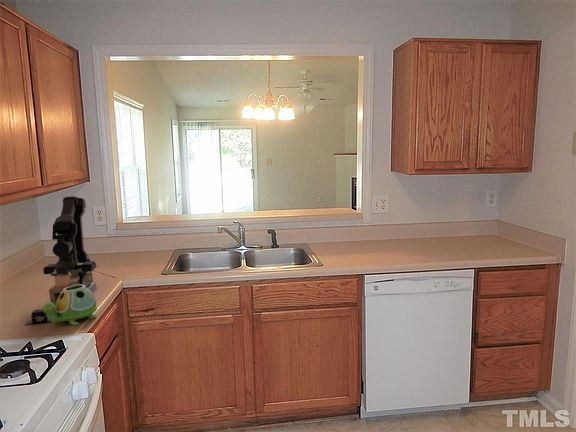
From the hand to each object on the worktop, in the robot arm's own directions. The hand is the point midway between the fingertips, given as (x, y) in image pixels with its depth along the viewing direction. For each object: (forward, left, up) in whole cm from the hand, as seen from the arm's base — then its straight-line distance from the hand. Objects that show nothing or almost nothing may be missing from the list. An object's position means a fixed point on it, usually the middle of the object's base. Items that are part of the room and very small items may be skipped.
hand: (72, 287), depth 174 cm
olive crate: (-7, 0, +4) cm, 8 cm away
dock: (0, 0, -5) cm, 5 cm away
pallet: (0, 0, -1) cm, 1 cm away
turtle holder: (+22, +9, -5) cm, 24 cm away
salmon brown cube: (+7, 0, +4) cm, 8 cm away
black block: (+20, -4, -6) cm, 22 cm away
